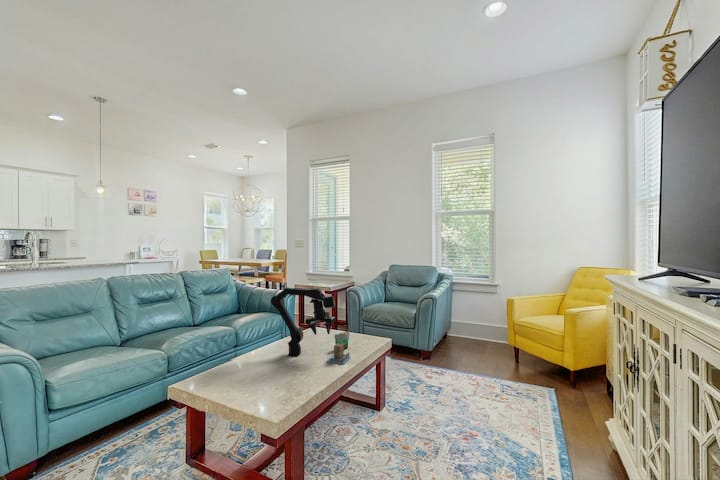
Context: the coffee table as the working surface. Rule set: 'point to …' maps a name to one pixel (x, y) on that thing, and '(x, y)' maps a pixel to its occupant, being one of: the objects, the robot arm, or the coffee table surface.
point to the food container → (342, 339)
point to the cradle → (339, 361)
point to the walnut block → (338, 351)
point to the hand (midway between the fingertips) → (322, 334)
